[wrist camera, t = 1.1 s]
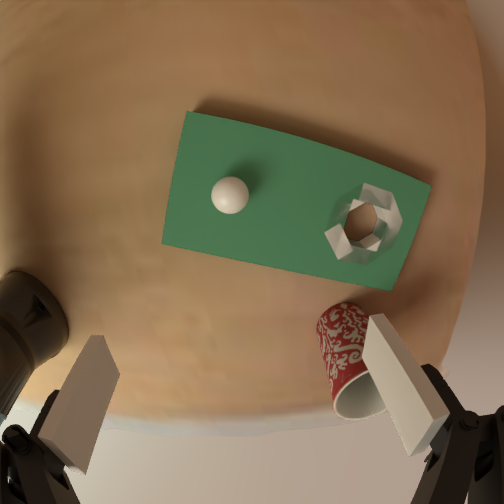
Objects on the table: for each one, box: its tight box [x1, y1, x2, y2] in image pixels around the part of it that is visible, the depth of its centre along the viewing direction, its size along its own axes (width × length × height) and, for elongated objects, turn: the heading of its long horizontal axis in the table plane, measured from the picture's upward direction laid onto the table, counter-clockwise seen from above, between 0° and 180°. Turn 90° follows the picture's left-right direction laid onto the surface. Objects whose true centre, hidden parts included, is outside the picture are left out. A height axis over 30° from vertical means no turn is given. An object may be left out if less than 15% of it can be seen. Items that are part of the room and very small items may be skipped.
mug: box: [317, 303, 387, 420], centre depth 33 cm, size 13×9×14 cm
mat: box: [162, 111, 432, 291], centre depth 31 cm, size 28×14×2 cm, turn 76°
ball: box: [211, 177, 249, 214], centre depth 27 cm, size 4×4×4 cm
